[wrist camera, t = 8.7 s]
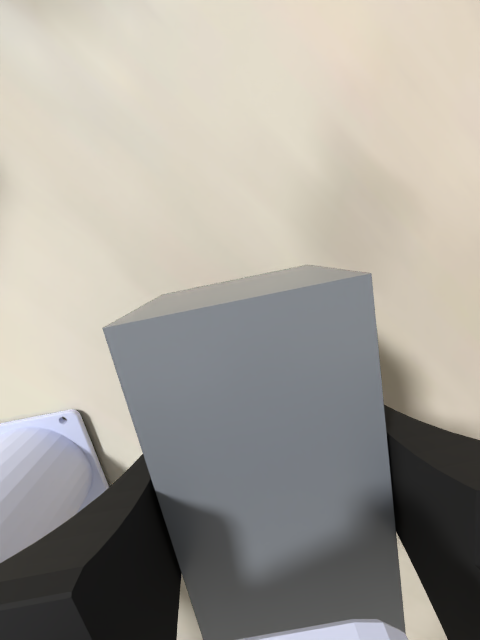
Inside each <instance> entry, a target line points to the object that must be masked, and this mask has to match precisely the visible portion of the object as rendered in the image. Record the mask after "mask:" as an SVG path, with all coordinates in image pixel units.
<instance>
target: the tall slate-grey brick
mask: <svg viewBox="0 0 480 640" xmlns="http://www.w3.org/2000/svg"><path fill="white" fill-rule="evenodd" d="M103 331H104V334H105V338H106V341H107V344H108V347H109V350H110V353H111V356H112V359H113V362H114V365H115V368H116V372H117V375H118V378H119V381H120V384H121V387H122V390H123V393H124V396H125V399H126V402H127V405H128V409H129V412H130V415H131V418H132V421H133V424H134V427H135V430H136V433H137V436H138V439H139V443H140V446H141V449H142V452H143V455H144V458H145V461H146V464H147V467H148V470H149V473H150V476H151V480H152V483H153V486H154V489H155V492H156V495H157V498H158V501H159V504H160V507H161V510H162V514H163V517H164V520H165V523H166V526H167V529H168V532H169V535H170V538H171V541H172V544H173V547H174V551H175V554H176V557H177V560H178V563H179V566H180V569H181V572H182V575H183V578H184V581H185V585H186V588H187V591H188V594H189V597H190V600H191V603H192V606H193V609H194V612H195V615H196V618H197V622H198V625H199V628H200V631H201V634H202V637H203V640H237V639H243V638H249V637H254V636H260V635H265V634H271V633H277V632H282V631H288V630H294V629H299V628H305V627H310V626H316V625H322V624H327V623H333V622H339V621H344V620H350V619H378V620H380V621H382V622H385V623H387V624H389V625H391V626H393V627H395V628H397V629H399V630H401V631H402V632H404V633H405V622H404V612H403V601H402V591H401V580H400V570H399V559H398V549H397V538H396V528H395V517H394V507H393V496H392V486H391V475H390V465H389V454H388V444H387V433H386V423H385V412H384V402H383V391H382V381H381V370H380V360H379V349H378V339H377V328H376V318H375V307H374V297H373V286H372V276H371V273H365V272H358V271H351V270H343V269H336V268H328V267H321V266H313V265H304V266H299V267H294V268H289V269H284V270H279V271H275V272H270V273H265V274H260V275H255V276H250V277H245V278H241V279H236V280H231V281H226V282H221V283H216V284H211V285H207V286H202V287H197V288H192V289H187V290H182V291H177V292H172V293H168V294H163V295H161V296H159V297H157V298H155V299H154V300H152V301H150V302H148V303H146V304H145V305H143V306H141V307H139V308H137V309H136V310H134V311H132V312H130V313H129V314H127V315H125V316H123V317H121V318H120V319H118V320H116V321H114V322H112V323H111V324H109V325H107V326H105V327H103ZM405 634H406V633H405Z"/></svg>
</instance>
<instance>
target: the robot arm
mask: <svg viewBox="0 0 480 640" xmlns="http://www.w3.org/2000/svg"><path fill="white" fill-rule="evenodd" d="M384 412H385V423H386V433H387V444H388V454H389V465H390V475H391V486H392V496H393V507H394V517H395V528H396V532H397V534H398V536H399V538H400V540H401V542H402V544H403V546H404V548H405V550H406V552H407V554H408V556H409V558H410V560H411V562H412V564H413V566H414V568H415V570H416V572H417V574H418V576H419V578H420V581H421V583H422V585H423V587H424V589H425V591H426V593H427V595H428V598H429V600H430V602H431V604H432V606H433V608H434V610H435V612H436V615H437V617H438V619H439V621H440V623H441V625H442V627H443V630H444V632H445V634H446V636H447V639H448V640H480V440H477V439H473V438H470V437H466V436H463V435H459V434H456V433H452V432H449V431H446V430H443V429H440V428H438V427H435V426H432V425H429V424H426V423H424V422H421V421H419V420H416V419H414V418H411V417H409V416H407V415H405V414H402V413H400V412H398V411H396V410H394V409H391V408H389V407H387V406H385V405H384ZM62 417H64V418H66V419H67V420H64V419H63V418H62ZM181 573H182V572H181V569H180V566H179V563H178V560H177V557H176V554H175V551H174V547H173V544H172V541H171V538H170V535H169V532H168V529H167V526H166V523H165V520H164V517H163V514H162V510H161V507H160V504H159V501H158V498H157V495H156V492H155V489H154V486H153V483H152V480H151V476H150V473H149V470H148V467H147V464H146V461H145V458H144V455H143V454H142V455H141V456H140V458H139V459H138V460H137V461H136V462H135V463H134V464H133V465H132V466H131V467H130V468H129V469H128V470H127V471H126V472H125V473H124V474H123V475H122V476H121V477H120V478H119V479H118V480H117V481H116V482H115V483H113V484H112V485H111V486H110V487H109V486H108V483H107V480H106V478H105V475H104V473H103V470H102V468H101V465H100V463H99V460H98V458H97V455H96V453H95V450H94V448H93V445H92V443H91V440H90V437H89V435H88V432H87V430H86V427H85V425H84V422H83V420H82V417H81V415H80V413H79V412H78V411H77V410H74V409H71V410H65V411H60V412H55V413H50V414H45V415H40V416H35V417H30V418H24V419H19V420H14V421H9V422H4V423H0V640H176V638H177V622H178V609H179V596H180V584H181ZM237 640H408V638H407V636H406V634H405V633H404V632H402V631H401V630H399V629H397V628H395V627H393V626H391V625H389V624H387V623H385V622H382V621H380V620H378V619H350V620H344V621H339V622H333V623H327V624H322V625H316V626H310V627H305V628H299V629H294V630H288V631H282V632H277V633H271V634H265V635H260V636H254V637H249V638H243V639H237Z"/></svg>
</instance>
